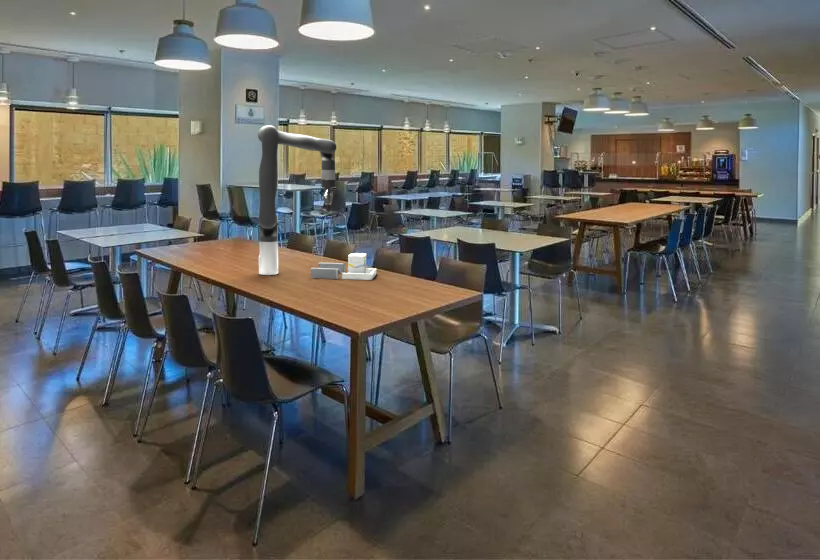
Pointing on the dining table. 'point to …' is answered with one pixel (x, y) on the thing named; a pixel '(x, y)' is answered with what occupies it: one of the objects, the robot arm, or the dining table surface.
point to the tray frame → (360, 275)
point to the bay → (328, 270)
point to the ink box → (357, 263)
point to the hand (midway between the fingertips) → (328, 211)
